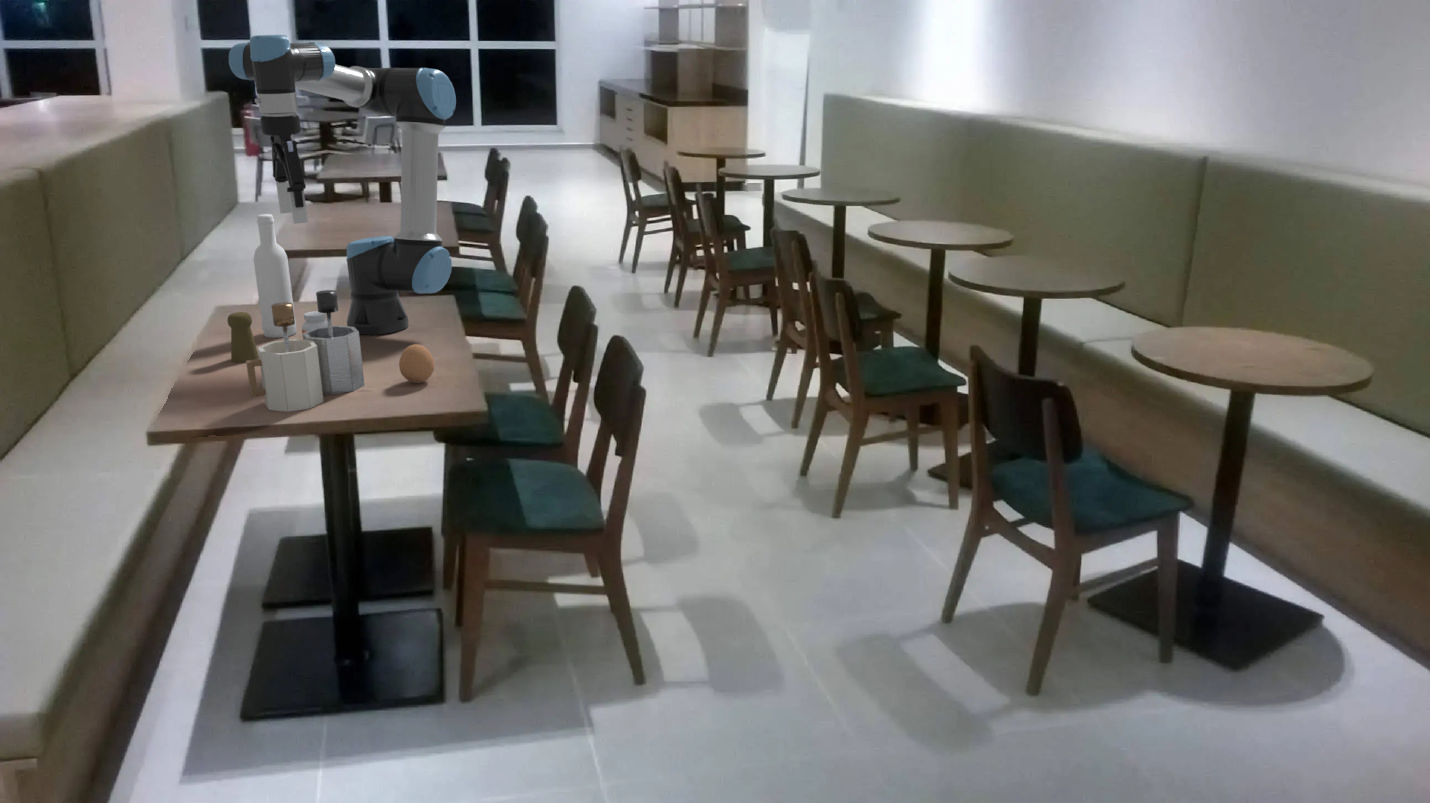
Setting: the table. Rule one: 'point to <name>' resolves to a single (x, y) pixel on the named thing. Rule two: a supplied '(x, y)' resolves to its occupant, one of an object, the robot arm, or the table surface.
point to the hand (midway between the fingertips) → (294, 217)
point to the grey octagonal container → (338, 358)
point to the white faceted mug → (287, 375)
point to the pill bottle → (314, 321)
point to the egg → (416, 364)
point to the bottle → (271, 277)
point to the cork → (242, 338)
